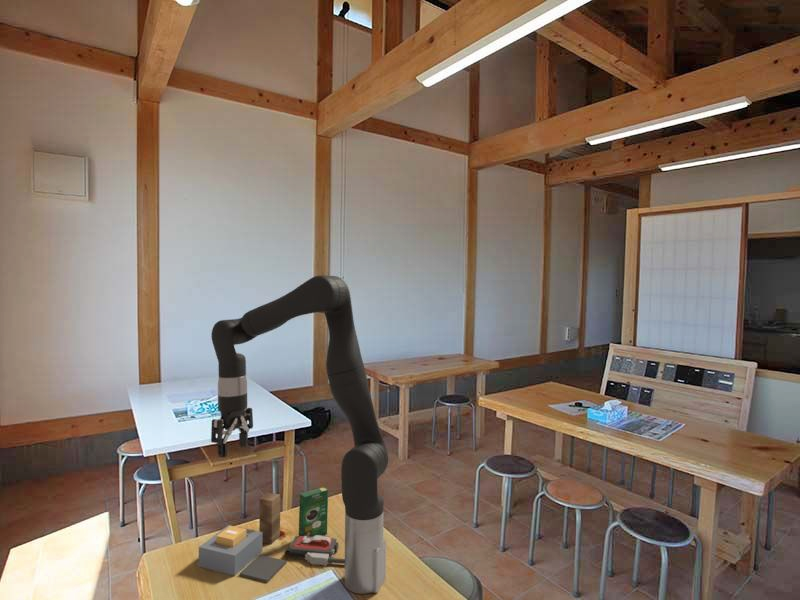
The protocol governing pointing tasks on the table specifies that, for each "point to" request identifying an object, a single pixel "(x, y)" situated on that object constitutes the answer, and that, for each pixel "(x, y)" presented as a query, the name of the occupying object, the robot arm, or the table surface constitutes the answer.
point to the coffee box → (313, 512)
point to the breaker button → (231, 536)
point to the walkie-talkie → (314, 549)
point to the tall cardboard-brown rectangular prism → (270, 517)
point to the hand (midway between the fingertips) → (233, 451)
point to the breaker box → (230, 553)
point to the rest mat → (263, 568)
